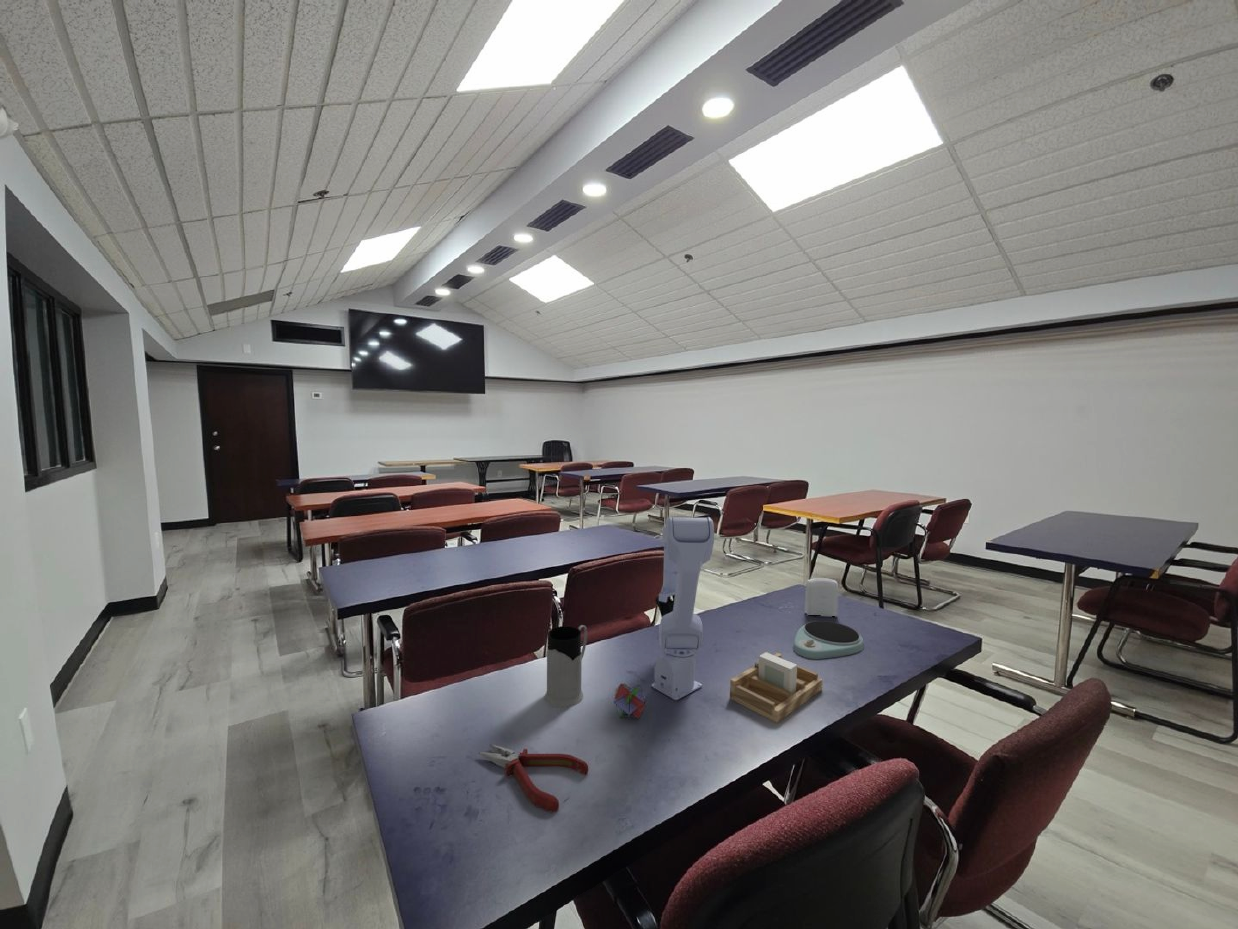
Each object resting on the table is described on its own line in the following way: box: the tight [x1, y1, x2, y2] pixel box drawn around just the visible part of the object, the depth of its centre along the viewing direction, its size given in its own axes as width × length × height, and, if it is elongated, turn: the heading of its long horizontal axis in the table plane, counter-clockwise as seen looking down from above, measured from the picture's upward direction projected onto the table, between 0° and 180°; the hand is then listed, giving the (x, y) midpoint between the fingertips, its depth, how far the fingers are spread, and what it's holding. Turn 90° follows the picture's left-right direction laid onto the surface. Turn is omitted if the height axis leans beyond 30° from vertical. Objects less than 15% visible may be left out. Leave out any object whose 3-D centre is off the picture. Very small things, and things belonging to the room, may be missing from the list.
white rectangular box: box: [758, 651, 798, 696], centre depth 115 cm, size 3×8×7 cm, turn 42°
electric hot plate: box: [792, 620, 865, 660], centre depth 141 cm, size 18×4×25 cm
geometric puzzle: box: [612, 683, 647, 720], centre depth 105 cm, size 7×7×8 cm
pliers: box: [478, 744, 589, 813], centre depth 88 cm, size 12×20×3 cm, turn 62°
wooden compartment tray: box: [729, 652, 824, 723], centre depth 114 cm, size 20×12×5 cm, turn 132°
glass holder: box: [544, 624, 588, 709], centre depth 114 cm, size 9×14×15 cm, turn 154°
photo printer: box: [804, 577, 839, 617], centre depth 162 cm, size 10×4×12 cm, turn 85°
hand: (672, 619), depth 132 cm, fingers open, 7 cm apart
